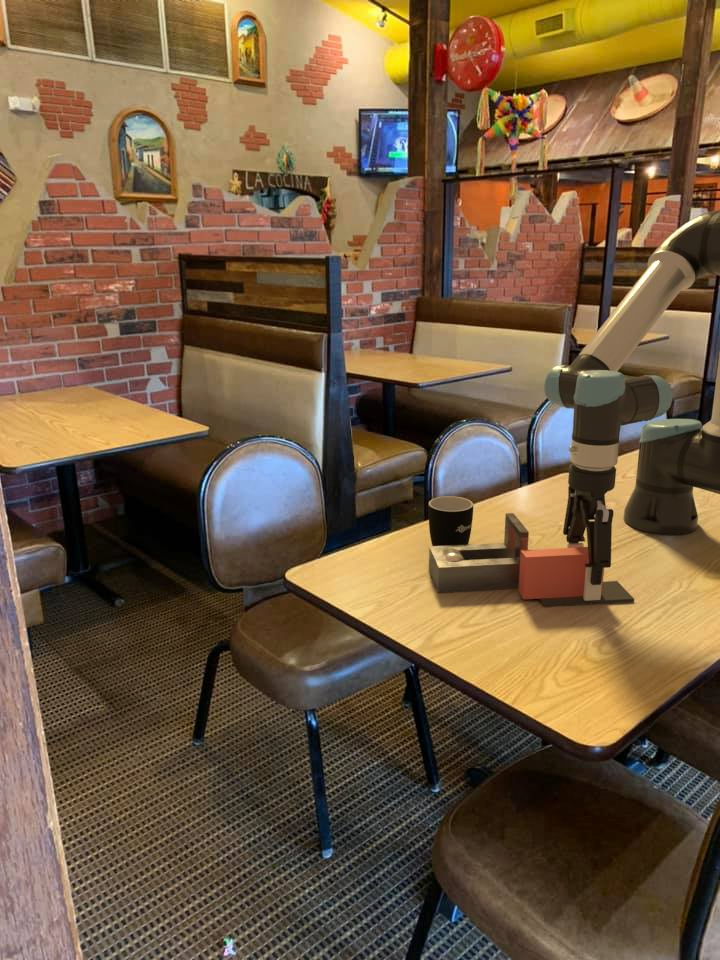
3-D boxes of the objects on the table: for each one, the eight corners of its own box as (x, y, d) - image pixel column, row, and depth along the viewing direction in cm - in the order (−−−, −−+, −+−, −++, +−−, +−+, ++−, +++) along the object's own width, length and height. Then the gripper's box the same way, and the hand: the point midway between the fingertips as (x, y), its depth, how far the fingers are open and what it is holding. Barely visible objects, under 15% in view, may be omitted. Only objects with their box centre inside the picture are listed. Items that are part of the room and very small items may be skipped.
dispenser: (510, 566, 140) (513, 513, 136) (525, 588, 131) (528, 532, 127) (428, 570, 138) (429, 516, 135) (438, 592, 129) (439, 536, 126)
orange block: (594, 587, 129) (598, 546, 127) (601, 595, 126) (605, 553, 124) (518, 591, 128) (520, 550, 126) (523, 599, 125) (525, 557, 123)
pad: (616, 583, 132) (617, 580, 132) (633, 601, 125) (634, 598, 125) (531, 588, 130) (531, 585, 130) (543, 606, 124) (544, 603, 124)
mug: (456, 562, 142) (457, 514, 138) (419, 551, 147) (419, 504, 144) (487, 543, 150) (489, 498, 147) (451, 533, 156) (452, 489, 153)
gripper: (550, 448, 130) (542, 564, 137) (595, 485, 110) (583, 617, 117) (590, 447, 130) (580, 562, 138) (643, 483, 111) (628, 615, 118)
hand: (582, 587), depth 127 cm, fingers open, 8 cm apart
